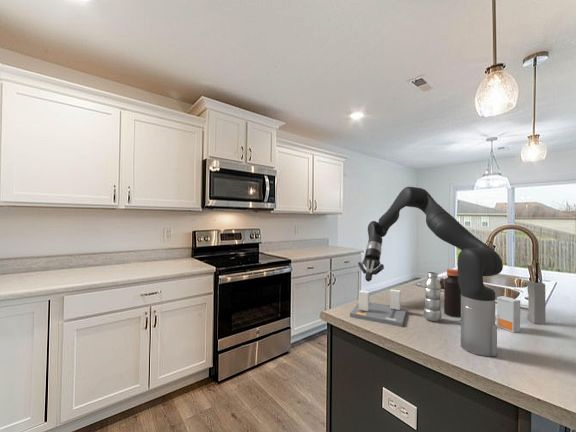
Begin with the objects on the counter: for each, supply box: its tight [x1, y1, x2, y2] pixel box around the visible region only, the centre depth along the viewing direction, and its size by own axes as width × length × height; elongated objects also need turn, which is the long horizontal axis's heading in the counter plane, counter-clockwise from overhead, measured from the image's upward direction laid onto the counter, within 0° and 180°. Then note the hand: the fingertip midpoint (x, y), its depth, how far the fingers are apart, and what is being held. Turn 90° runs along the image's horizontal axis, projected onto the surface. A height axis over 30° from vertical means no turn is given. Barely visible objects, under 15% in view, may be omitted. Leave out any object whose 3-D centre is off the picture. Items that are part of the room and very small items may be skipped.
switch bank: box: [349, 301, 408, 328], centre depth 117 cm, size 21×20×2 cm
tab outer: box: [358, 290, 370, 311], centre depth 118 cm, size 4×3×8 cm
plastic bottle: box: [423, 271, 443, 322], centre depth 111 cm, size 6×7×20 cm
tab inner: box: [389, 288, 401, 310], centre depth 120 cm, size 4×3×8 cm
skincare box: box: [496, 295, 521, 334], centre depth 103 cm, size 6×4×12 cm
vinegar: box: [443, 268, 461, 318], centre depth 117 cm, size 7×7×20 cm
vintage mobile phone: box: [526, 262, 546, 326], centre depth 110 cm, size 4×5×25 cm
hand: (368, 280), depth 126 cm, fingers closed
